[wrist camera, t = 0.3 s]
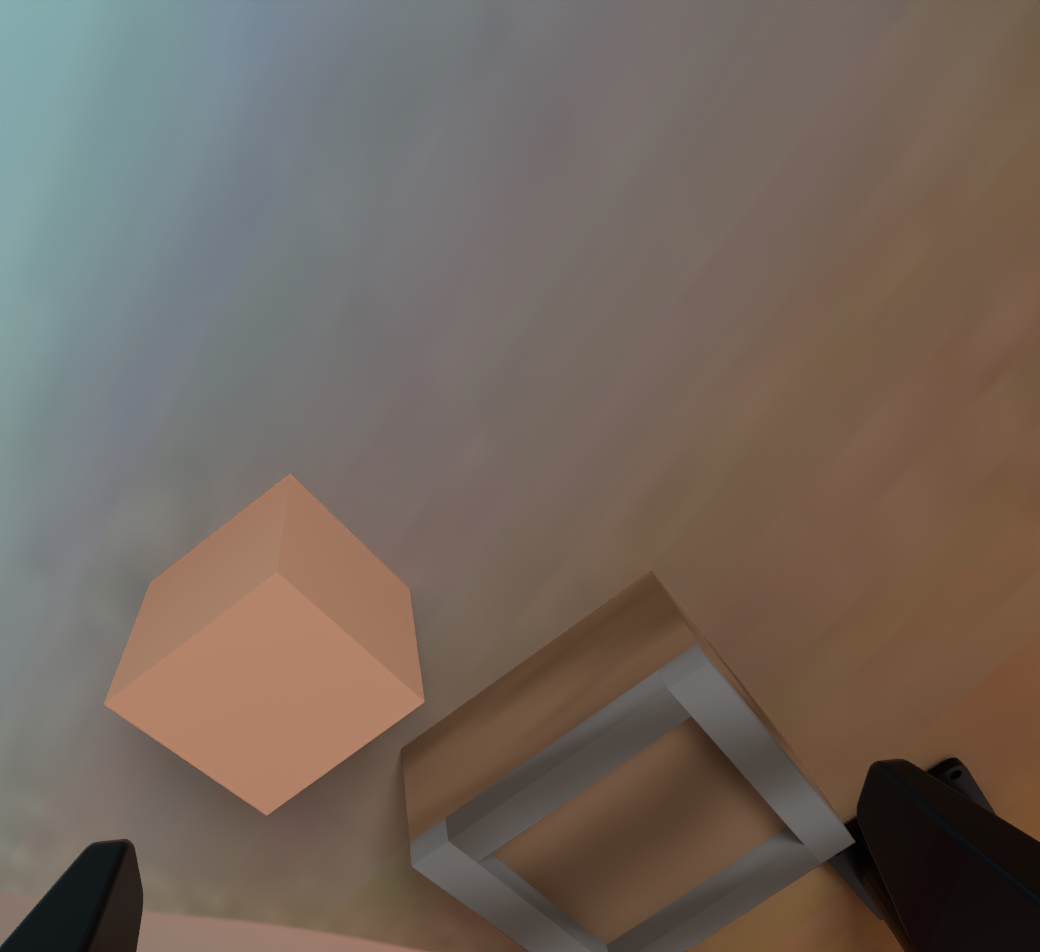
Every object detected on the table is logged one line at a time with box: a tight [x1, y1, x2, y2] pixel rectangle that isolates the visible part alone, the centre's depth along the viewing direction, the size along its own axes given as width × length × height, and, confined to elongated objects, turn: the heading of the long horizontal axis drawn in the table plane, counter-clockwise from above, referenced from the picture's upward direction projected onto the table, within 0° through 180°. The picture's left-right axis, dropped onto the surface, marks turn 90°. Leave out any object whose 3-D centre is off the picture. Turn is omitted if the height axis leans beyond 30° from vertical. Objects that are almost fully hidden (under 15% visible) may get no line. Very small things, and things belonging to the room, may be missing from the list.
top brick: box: [104, 474, 425, 816], centre depth 21 cm, size 5×5×5 cm
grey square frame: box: [401, 571, 855, 952], centre depth 26 cm, size 10×10×5 cm
